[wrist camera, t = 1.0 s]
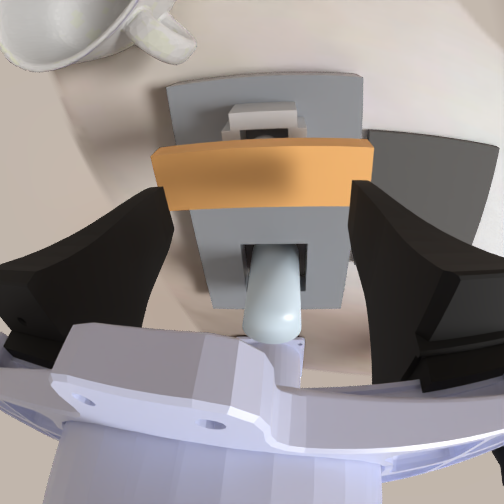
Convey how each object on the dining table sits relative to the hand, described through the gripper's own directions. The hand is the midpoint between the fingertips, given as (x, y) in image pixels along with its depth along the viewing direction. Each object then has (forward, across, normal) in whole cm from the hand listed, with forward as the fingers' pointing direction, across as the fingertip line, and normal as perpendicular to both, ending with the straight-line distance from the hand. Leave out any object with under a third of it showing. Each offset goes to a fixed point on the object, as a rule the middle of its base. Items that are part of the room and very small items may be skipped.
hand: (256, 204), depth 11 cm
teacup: (+11, +8, -11) cm, 17 cm away
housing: (+11, 0, +6) cm, 12 cm away
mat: (+11, -13, +6) cm, 18 cm away
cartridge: (+11, 0, +11) cm, 15 cm away
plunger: (+6, 0, 0) cm, 6 cm away
